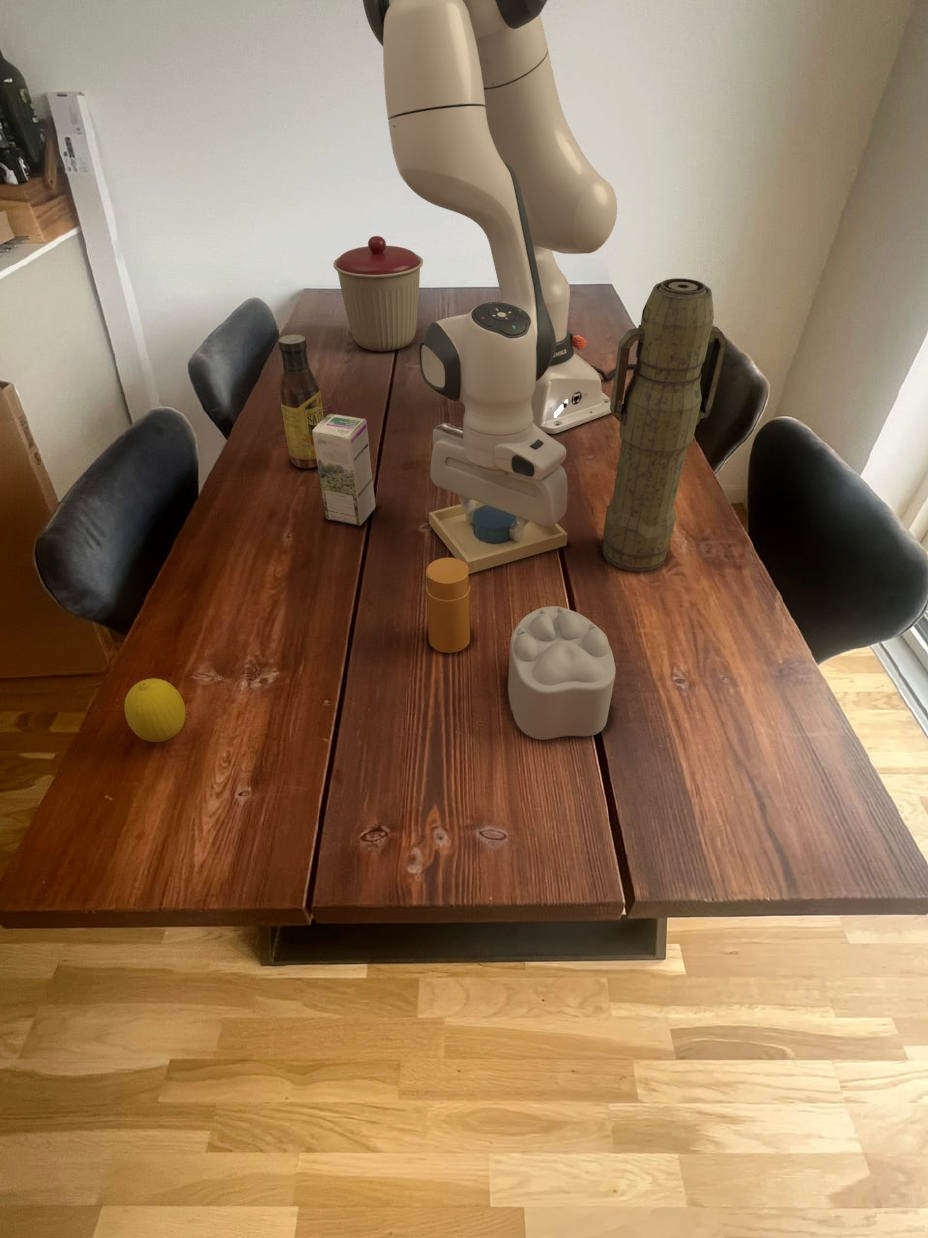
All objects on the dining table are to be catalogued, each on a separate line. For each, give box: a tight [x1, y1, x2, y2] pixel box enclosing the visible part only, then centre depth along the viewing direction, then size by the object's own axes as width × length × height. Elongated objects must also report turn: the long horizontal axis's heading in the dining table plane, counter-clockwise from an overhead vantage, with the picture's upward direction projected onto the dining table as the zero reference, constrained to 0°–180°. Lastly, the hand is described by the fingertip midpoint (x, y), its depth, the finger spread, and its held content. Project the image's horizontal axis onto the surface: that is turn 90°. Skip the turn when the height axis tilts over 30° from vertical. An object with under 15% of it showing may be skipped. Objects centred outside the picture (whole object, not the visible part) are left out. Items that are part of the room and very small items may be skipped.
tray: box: [428, 501, 568, 575], centre depth 103 cm, size 15×13×2 cm
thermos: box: [602, 277, 728, 573], centre depth 89 cm, size 9×12×35 cm
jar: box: [424, 557, 471, 654], centre depth 84 cm, size 5×5×10 cm
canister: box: [332, 235, 424, 352], centre depth 152 cm, size 18×18×21 cm
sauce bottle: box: [277, 334, 325, 470], centre depth 114 cm, size 7×6×20 cm
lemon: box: [123, 678, 187, 743], centre depth 74 cm, size 6×6×8 cm
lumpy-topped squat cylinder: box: [507, 605, 617, 741], centre depth 78 cm, size 10×13×9 cm
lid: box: [473, 505, 517, 544], centre depth 103 cm, size 6×6×3 cm
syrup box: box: [312, 413, 377, 527], centre depth 103 cm, size 6×6×14 cm
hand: (494, 529), depth 103 cm, fingers closed on lid, 6 cm apart
